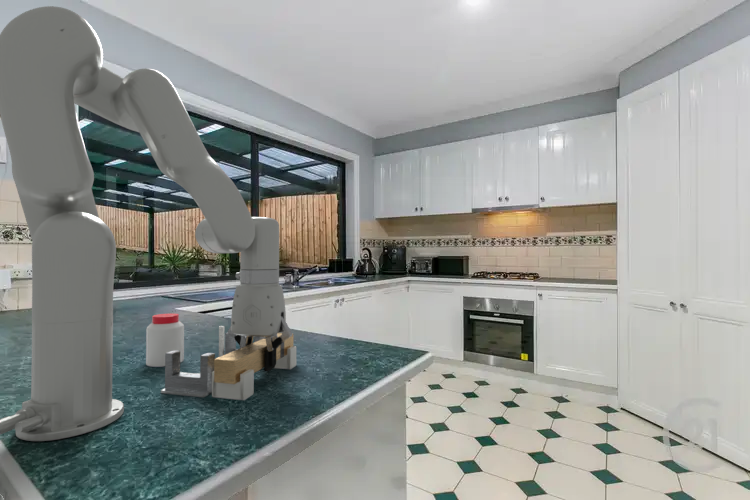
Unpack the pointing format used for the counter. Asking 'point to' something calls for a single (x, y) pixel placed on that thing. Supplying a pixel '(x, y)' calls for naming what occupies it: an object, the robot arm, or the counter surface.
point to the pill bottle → (164, 338)
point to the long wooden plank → (246, 360)
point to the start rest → (249, 379)
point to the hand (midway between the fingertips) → (259, 367)
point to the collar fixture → (191, 381)
